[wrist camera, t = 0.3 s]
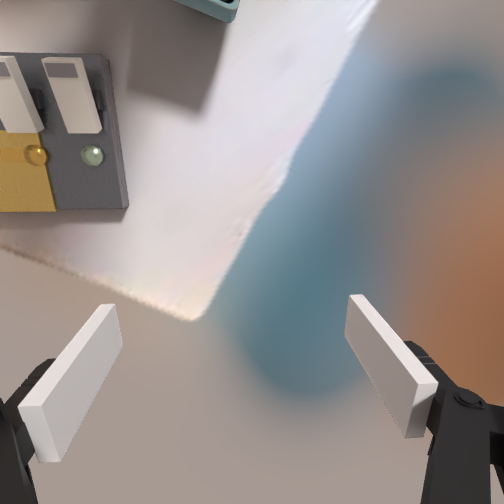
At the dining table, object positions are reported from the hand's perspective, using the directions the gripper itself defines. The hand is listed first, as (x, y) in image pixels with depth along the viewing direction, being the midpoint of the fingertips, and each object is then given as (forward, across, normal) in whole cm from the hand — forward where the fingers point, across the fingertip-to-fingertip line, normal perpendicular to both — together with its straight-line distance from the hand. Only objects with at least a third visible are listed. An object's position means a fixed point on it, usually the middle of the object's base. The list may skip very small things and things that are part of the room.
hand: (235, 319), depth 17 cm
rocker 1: (+22, -23, +14) cm, 35 cm away
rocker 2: (+22, -17, +14) cm, 31 cm away
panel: (+27, -23, +10) cm, 37 cm away
